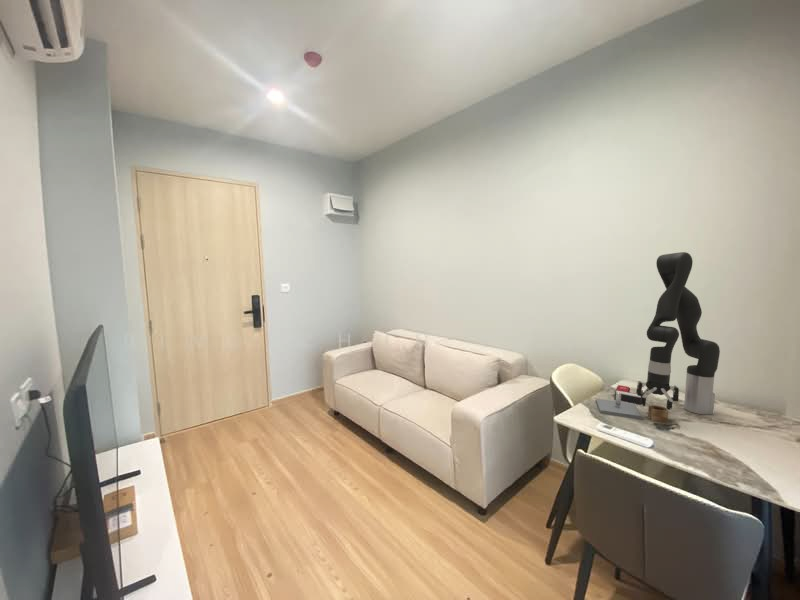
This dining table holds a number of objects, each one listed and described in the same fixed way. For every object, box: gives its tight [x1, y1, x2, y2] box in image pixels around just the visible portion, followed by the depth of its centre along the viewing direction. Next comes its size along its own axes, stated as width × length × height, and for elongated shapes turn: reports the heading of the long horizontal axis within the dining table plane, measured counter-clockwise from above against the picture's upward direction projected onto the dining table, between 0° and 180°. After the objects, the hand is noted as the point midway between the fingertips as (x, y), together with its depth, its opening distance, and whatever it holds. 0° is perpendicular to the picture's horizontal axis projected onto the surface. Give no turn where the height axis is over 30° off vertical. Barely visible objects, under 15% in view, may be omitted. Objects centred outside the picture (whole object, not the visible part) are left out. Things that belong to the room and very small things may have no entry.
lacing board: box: [595, 398, 644, 420], centre depth 150 cm, size 16×14×2 cm
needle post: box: [615, 392, 622, 406], centre depth 149 cm, size 2×2×6 cm
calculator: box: [614, 384, 644, 406], centre depth 164 cm, size 11×4×15 cm
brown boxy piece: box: [647, 404, 670, 424], centre depth 140 cm, size 6×6×5 cm
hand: (655, 407), depth 140 cm, fingers open, 8 cm apart
